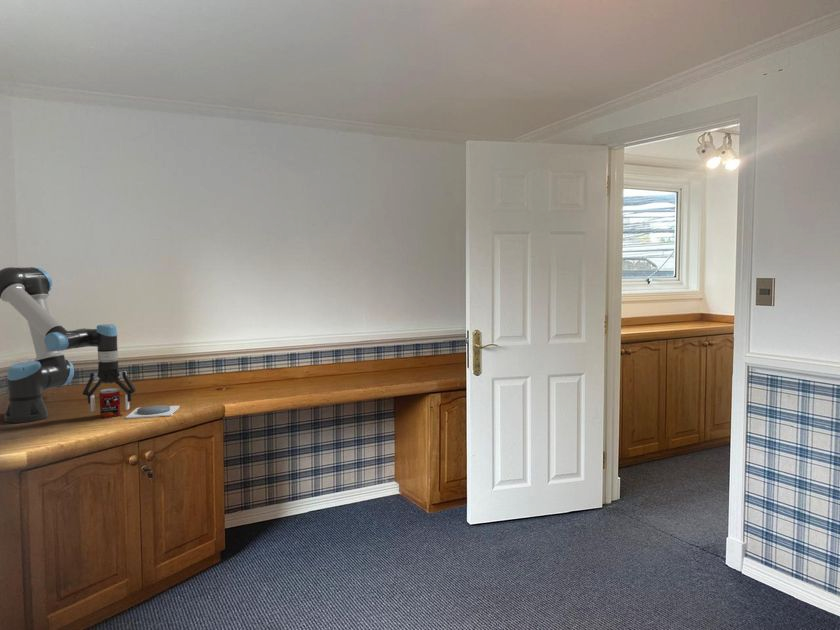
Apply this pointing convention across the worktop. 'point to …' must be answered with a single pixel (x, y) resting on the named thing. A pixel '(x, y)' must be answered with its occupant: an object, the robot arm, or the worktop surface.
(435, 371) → the worktop surface
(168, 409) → the white square plate
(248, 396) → the worktop surface
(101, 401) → the canned food
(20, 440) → the worktop surface
